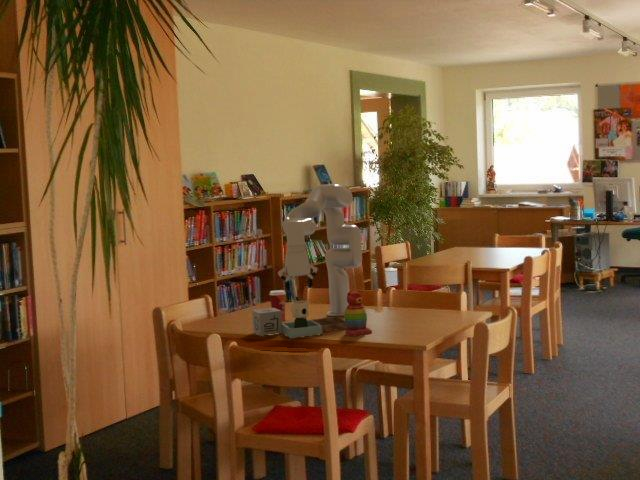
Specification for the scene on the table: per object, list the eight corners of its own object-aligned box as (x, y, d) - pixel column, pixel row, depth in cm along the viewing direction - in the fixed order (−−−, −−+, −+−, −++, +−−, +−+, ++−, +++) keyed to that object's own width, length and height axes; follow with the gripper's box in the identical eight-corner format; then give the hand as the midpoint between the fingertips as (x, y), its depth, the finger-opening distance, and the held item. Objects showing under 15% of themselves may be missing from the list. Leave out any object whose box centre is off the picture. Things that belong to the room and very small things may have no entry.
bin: (312, 328, 384) (311, 319, 384) (322, 335, 369) (321, 325, 369) (281, 332, 380) (280, 323, 380) (290, 338, 365) (289, 329, 365)
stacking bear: (350, 336, 362) (348, 294, 361) (340, 332, 372) (337, 291, 370) (373, 333, 367) (371, 291, 365) (363, 329, 376) (360, 288, 374)
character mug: (302, 334, 368) (301, 304, 367) (288, 334, 372) (286, 304, 370) (314, 329, 378) (312, 300, 377) (299, 329, 381) (298, 299, 380)
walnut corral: (337, 322, 396) (337, 316, 396) (349, 328, 380) (349, 322, 380) (310, 325, 393) (309, 319, 393) (320, 331, 377) (320, 325, 376)
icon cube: (282, 333, 377) (281, 310, 376) (260, 336, 373) (259, 313, 373) (275, 330, 386) (273, 307, 386) (253, 332, 383) (252, 310, 382)
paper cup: (285, 322, 404) (283, 292, 403) (269, 322, 406) (267, 292, 405) (289, 319, 412) (287, 289, 411) (273, 319, 414) (271, 290, 412)
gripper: (313, 246, 378) (316, 285, 380) (274, 250, 373) (277, 290, 375) (318, 248, 371) (321, 288, 372) (278, 252, 366) (281, 292, 368)
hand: (299, 289), depth 374 cm, fingers open, 9 cm apart
